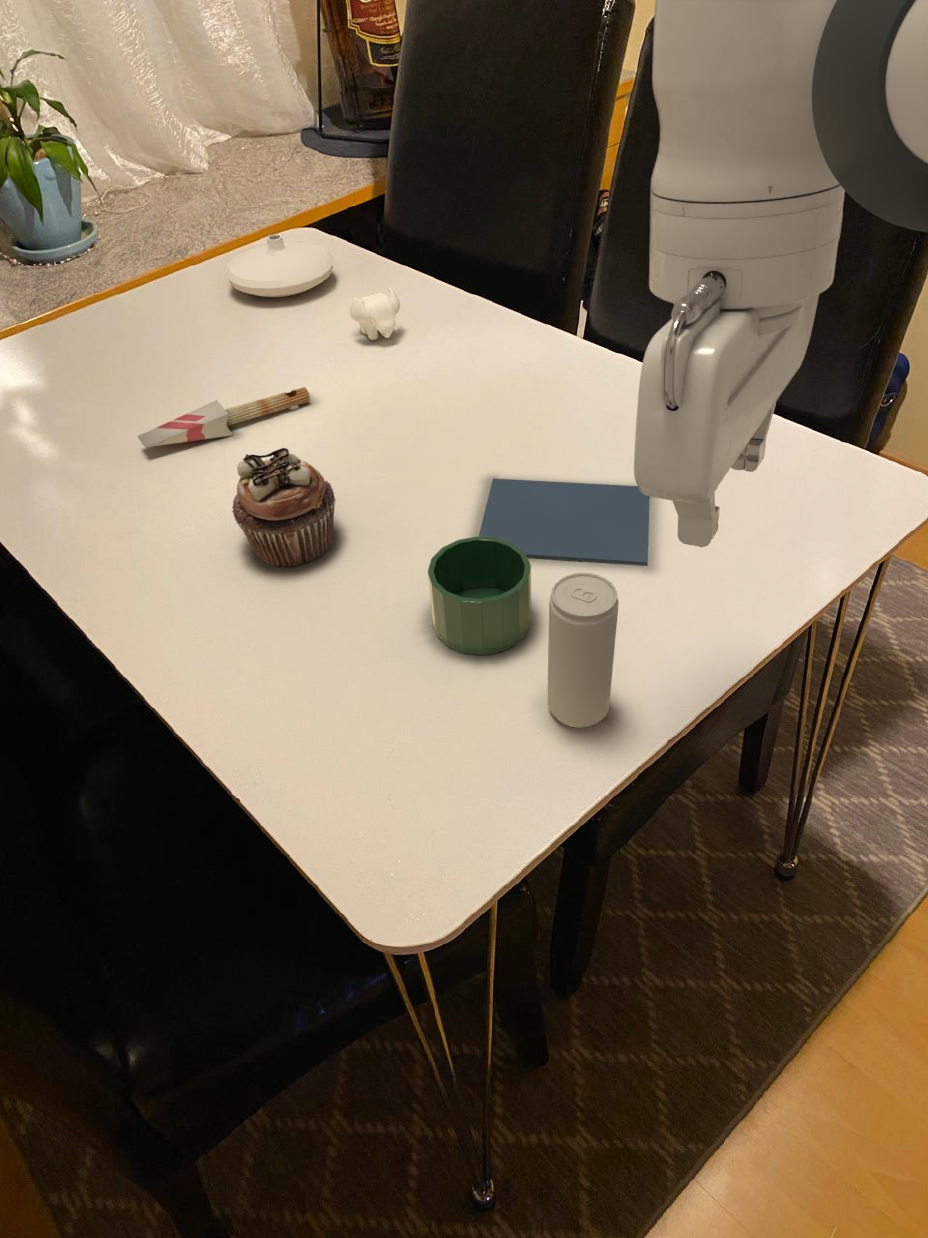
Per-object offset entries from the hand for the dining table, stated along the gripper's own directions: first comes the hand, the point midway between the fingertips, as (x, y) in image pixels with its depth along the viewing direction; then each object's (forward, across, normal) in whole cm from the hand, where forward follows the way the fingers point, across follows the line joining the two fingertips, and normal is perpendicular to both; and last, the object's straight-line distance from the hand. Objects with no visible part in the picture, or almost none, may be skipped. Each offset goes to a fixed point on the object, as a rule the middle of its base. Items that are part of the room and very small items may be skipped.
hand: (723, 500), depth 52 cm
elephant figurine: (+11, +50, +60) cm, 79 cm away
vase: (+7, +58, +82) cm, 101 cm away
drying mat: (+18, +24, +22) cm, 37 cm away
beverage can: (+21, +2, +11) cm, 24 cm away
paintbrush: (+13, +23, +64) cm, 69 cm away
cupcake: (+17, +9, +44) cm, 48 cm away
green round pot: (+19, +8, +22) cm, 30 cm away
